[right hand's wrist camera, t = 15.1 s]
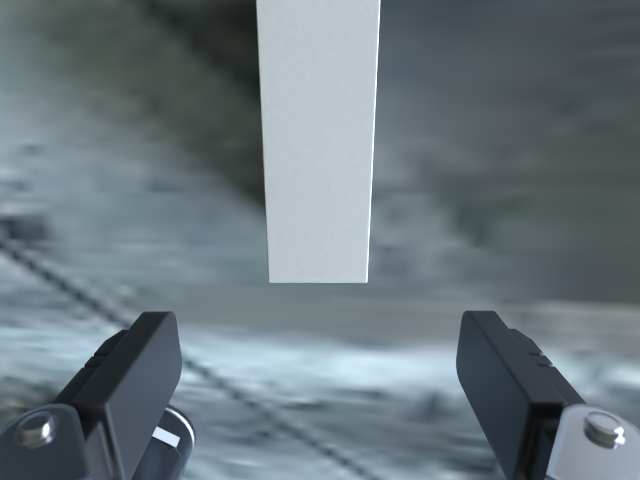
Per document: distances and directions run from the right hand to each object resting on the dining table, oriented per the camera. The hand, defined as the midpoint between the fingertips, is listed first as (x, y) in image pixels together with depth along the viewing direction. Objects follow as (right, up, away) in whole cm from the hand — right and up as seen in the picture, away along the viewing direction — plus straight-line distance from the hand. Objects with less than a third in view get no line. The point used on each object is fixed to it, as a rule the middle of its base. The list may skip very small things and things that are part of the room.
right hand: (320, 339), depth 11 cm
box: (0, +17, +21) cm, 27 cm away
